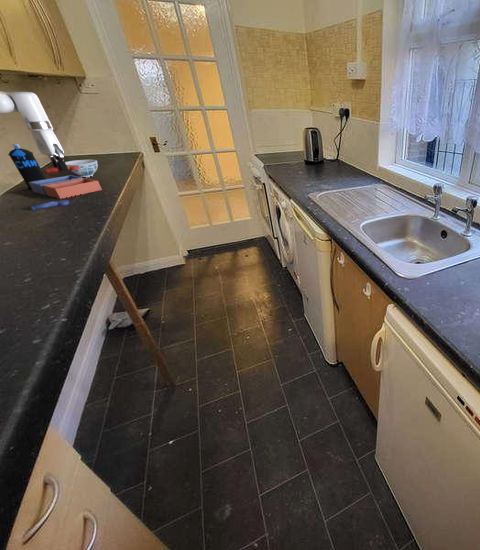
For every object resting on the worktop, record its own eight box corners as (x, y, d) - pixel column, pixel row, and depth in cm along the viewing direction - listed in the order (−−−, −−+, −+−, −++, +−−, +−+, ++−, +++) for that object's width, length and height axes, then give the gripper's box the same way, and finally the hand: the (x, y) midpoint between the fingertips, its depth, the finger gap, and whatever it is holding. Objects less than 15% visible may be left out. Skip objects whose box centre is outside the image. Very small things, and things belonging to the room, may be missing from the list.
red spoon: (48, 174, 129) (46, 169, 128) (44, 173, 130) (41, 168, 129) (82, 168, 139) (79, 164, 137) (77, 167, 140) (75, 163, 139)
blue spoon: (34, 212, 117) (31, 207, 116) (29, 210, 119) (26, 205, 118) (71, 203, 127) (69, 199, 126) (66, 202, 128) (64, 197, 127)
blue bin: (45, 195, 136) (39, 185, 134) (33, 192, 140) (28, 182, 138) (87, 186, 149) (82, 177, 147) (75, 184, 153) (70, 175, 151)
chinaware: (70, 175, 168) (63, 161, 164) (103, 172, 176) (97, 158, 172) (67, 181, 158) (59, 166, 154) (102, 177, 166) (96, 162, 162)
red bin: (60, 199, 132) (55, 188, 129) (48, 195, 136) (42, 185, 133) (102, 190, 145) (97, 180, 142) (89, 187, 148) (85, 178, 146)
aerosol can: (28, 187, 147) (3, 143, 137) (50, 184, 152) (27, 142, 141) (28, 190, 142) (1, 145, 132) (51, 187, 147) (27, 144, 136)
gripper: (18, 125, 124) (43, 170, 134) (38, 127, 119) (62, 174, 128) (41, 124, 130) (63, 167, 140) (60, 126, 125) (82, 171, 134)
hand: (62, 170), depth 134 cm, fingers closed on red spoon, 2 cm apart
